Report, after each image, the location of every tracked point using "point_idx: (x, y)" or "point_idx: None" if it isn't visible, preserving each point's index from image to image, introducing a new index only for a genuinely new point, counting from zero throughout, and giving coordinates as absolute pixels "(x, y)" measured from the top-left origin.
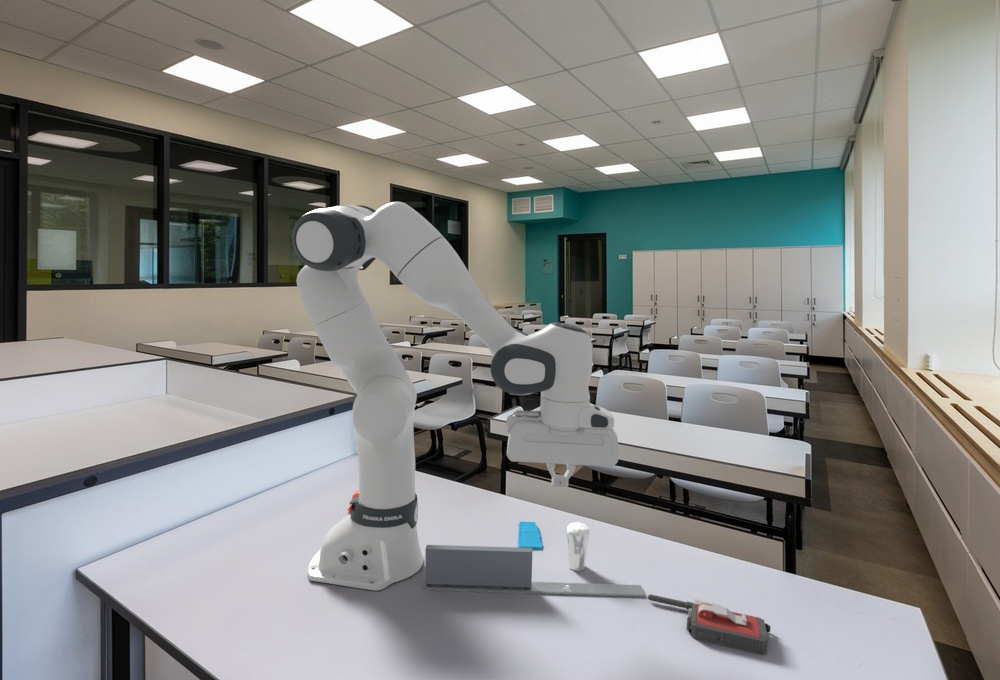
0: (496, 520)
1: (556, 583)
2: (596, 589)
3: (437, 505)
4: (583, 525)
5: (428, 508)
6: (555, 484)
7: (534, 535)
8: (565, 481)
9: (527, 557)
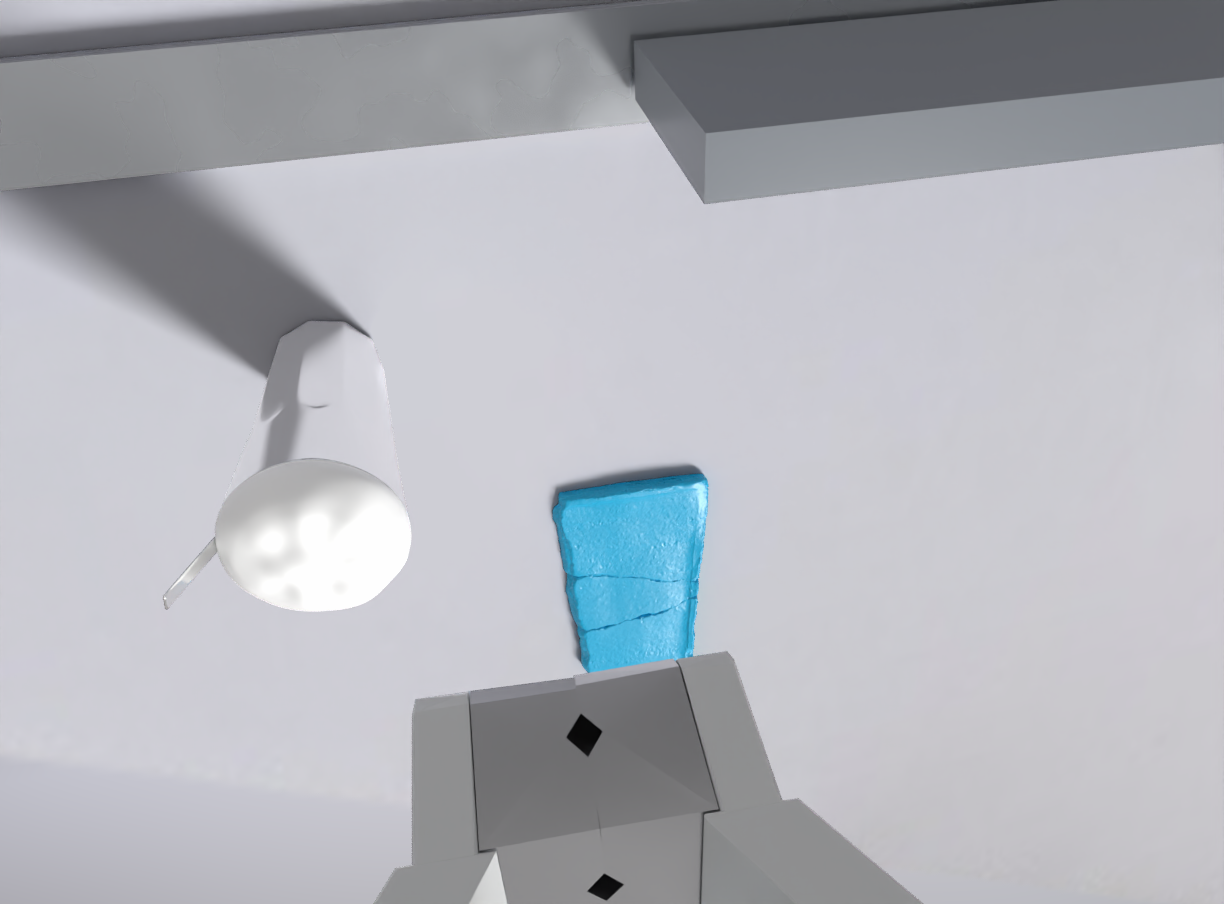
0: (806, 678)
1: (452, 131)
2: (142, 99)
3: (1078, 718)
4: (268, 574)
5: (1124, 688)
6: (678, 681)
7: (608, 598)
8: (478, 781)
9: (733, 109)
